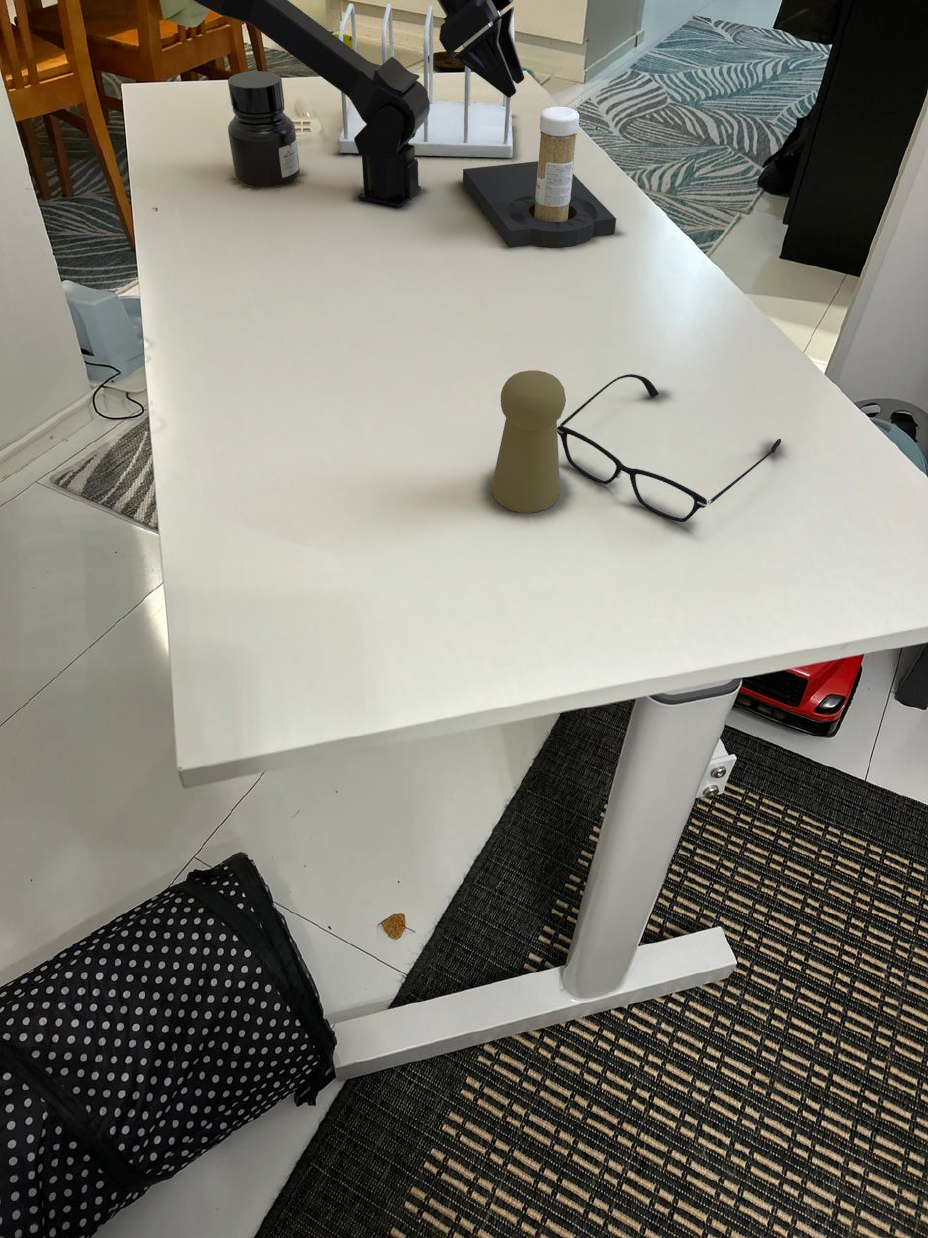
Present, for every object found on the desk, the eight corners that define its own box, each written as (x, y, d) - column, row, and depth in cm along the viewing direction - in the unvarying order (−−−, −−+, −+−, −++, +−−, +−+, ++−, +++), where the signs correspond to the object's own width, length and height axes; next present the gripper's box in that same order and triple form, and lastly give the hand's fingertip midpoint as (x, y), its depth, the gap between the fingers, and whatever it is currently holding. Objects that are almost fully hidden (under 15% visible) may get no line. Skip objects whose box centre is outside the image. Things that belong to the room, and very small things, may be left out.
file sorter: (339, 154, 130) (328, 29, 119) (352, 113, 142) (343, -5, 131) (512, 158, 130) (518, 33, 119) (510, 116, 142) (516, -1, 130)
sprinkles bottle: (533, 218, 116) (541, 103, 107) (568, 220, 116) (580, 105, 106) (531, 233, 113) (539, 117, 103) (567, 235, 113) (579, 119, 103)
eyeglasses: (543, 459, 82) (547, 422, 79) (642, 387, 90) (648, 351, 87) (700, 542, 74) (710, 504, 71) (792, 456, 82) (804, 419, 79)
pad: (462, 183, 124) (462, 168, 122) (557, 173, 127) (559, 158, 125) (513, 253, 110) (514, 236, 108) (619, 239, 112) (621, 223, 111)
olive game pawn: (512, 520, 76) (520, 409, 68) (479, 480, 79) (482, 370, 71) (573, 500, 78) (587, 389, 70) (537, 461, 81) (547, 352, 73)
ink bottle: (304, 187, 122) (293, 89, 113) (238, 193, 121) (222, 93, 112) (296, 160, 128) (284, 65, 120) (233, 165, 127) (217, 69, 118)
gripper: (490, -99, 89) (571, 55, 96) (511, -102, 103) (580, 32, 110) (402, -21, 94) (485, 120, 101) (434, -34, 108) (504, 90, 115)
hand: (517, 87), depth 107 cm, fingers open, 9 cm apart
